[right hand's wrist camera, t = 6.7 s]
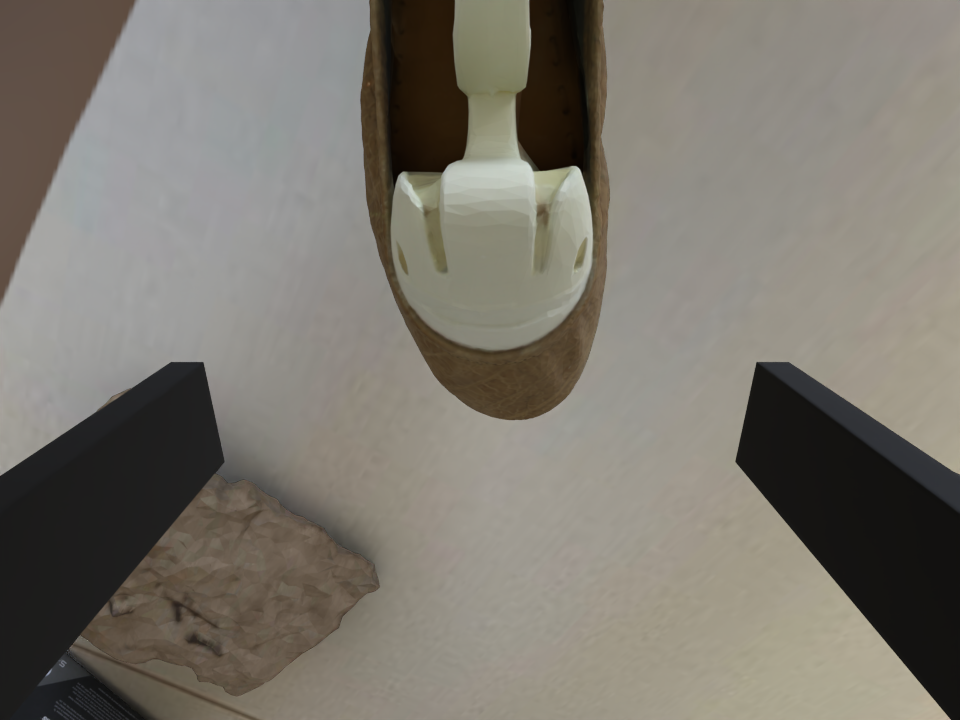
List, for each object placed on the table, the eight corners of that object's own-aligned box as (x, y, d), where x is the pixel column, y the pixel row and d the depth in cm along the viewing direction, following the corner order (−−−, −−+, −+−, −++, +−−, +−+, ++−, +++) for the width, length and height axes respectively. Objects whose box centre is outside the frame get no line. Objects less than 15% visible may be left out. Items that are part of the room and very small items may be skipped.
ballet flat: (391, 403, 22) (338, 545, 14) (338, -436, 14) (112, -1359, 5) (582, 405, 22) (639, 548, 14) (655, -436, 13) (923, -1367, 5)
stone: (-22, 535, 33) (-91, 606, 27) (137, 368, 32) (99, 407, 27) (257, 662, 41) (247, 735, 36) (385, 532, 41) (394, 586, 36)
